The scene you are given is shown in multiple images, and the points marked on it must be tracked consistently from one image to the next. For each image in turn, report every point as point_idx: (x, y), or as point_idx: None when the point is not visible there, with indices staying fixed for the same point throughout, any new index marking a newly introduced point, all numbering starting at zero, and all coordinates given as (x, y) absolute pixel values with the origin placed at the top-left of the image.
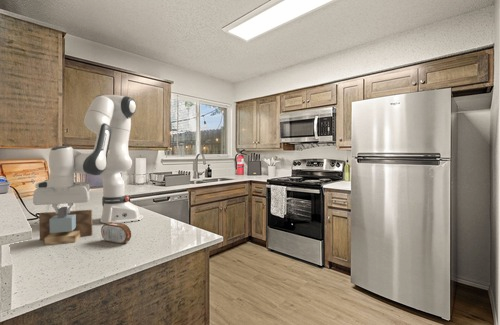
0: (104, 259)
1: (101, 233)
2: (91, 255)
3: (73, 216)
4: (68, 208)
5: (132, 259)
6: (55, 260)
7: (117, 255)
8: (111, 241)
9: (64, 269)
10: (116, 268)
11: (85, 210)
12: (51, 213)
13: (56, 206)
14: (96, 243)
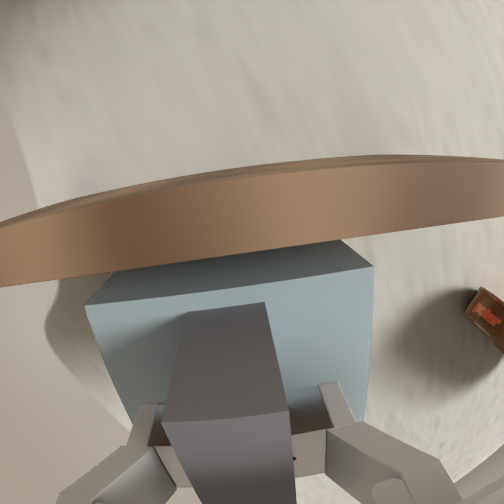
0: (442, 454)
1: (474, 321)
2: (415, 442)
3: (368, 368)
4: (350, 483)
5: (489, 441)
6: (313, 475)
7: (472, 430)
8: (483, 331)
9: (355, 500)
10: (453, 476)
11: (495, 201)
12: (13, 281)
13: (111, 499)
14: (431, 338)
